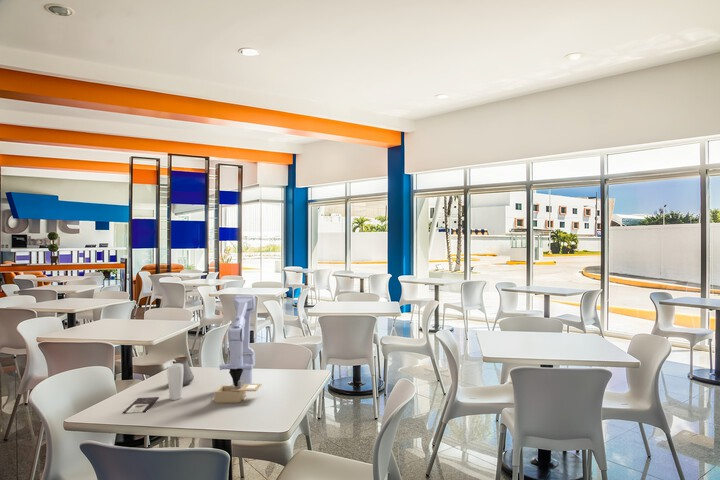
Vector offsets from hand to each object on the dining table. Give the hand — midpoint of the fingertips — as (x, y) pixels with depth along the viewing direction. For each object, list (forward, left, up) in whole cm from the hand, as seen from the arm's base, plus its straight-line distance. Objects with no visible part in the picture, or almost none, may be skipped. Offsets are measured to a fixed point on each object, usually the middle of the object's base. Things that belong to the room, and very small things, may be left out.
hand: (236, 385), depth 209 cm
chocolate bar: (-26, -30, -7) cm, 40 cm away
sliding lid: (+4, +3, -1) cm, 5 cm away
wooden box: (-2, -2, -6) cm, 7 cm away
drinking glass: (-23, -16, -6) cm, 29 cm away
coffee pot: (-38, -6, -6) cm, 39 cm away
